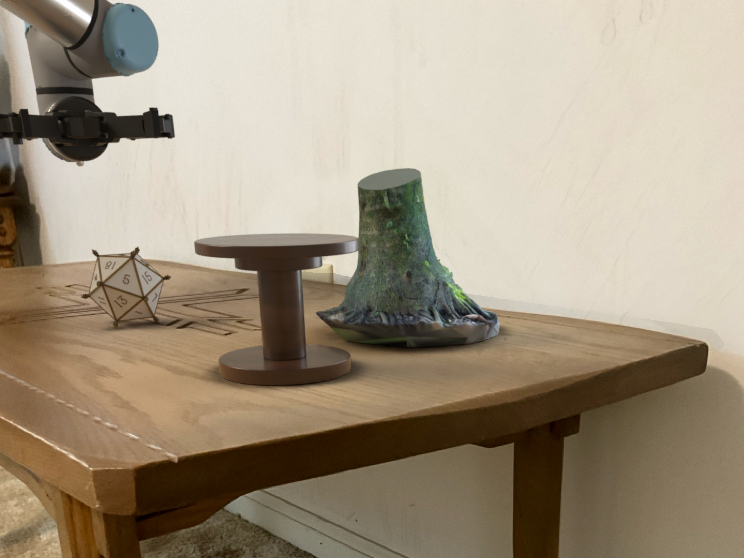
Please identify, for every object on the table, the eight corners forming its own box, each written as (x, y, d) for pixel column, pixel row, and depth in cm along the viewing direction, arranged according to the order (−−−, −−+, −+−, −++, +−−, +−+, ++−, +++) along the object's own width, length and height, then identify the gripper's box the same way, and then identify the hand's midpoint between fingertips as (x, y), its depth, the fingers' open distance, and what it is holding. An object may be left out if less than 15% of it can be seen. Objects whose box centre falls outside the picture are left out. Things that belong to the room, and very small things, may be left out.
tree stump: (537, 330, 91) (536, 150, 80) (441, 415, 78) (424, 216, 67) (396, 307, 100) (377, 143, 89) (288, 380, 87) (252, 200, 76)
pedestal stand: (185, 366, 74) (170, 238, 69) (318, 349, 80) (312, 231, 76) (244, 396, 64) (232, 249, 59) (391, 374, 70) (389, 240, 66)
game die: (118, 360, 94) (47, 287, 90) (156, 320, 100) (91, 250, 96) (163, 325, 89) (91, 246, 84) (201, 286, 94) (135, 210, 90)
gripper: (177, 160, 117) (210, 159, 99) (-22, 162, 108) (-24, 162, 90) (170, 99, 114) (203, 86, 96) (-35, 96, 105) (-41, 82, 87)
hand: (93, 123), depth 93 cm, fingers open, 13 cm apart
